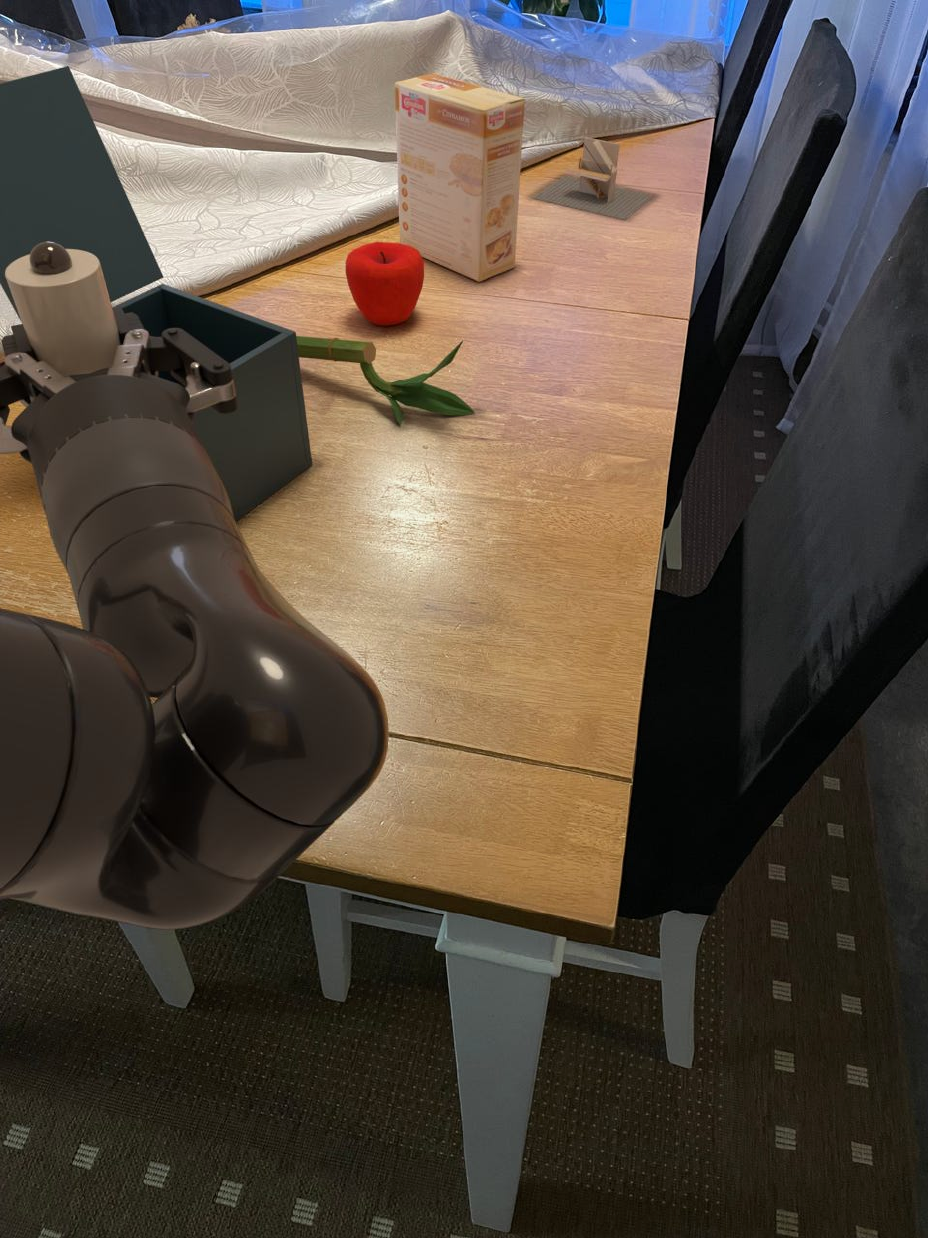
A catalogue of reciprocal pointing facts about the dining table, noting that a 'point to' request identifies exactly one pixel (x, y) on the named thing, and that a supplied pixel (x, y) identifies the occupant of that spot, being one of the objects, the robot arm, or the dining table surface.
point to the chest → (241, 392)
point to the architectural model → (595, 184)
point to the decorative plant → (402, 391)
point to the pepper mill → (65, 308)
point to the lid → (64, 184)
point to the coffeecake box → (459, 173)
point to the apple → (385, 281)
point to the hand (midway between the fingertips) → (71, 331)
